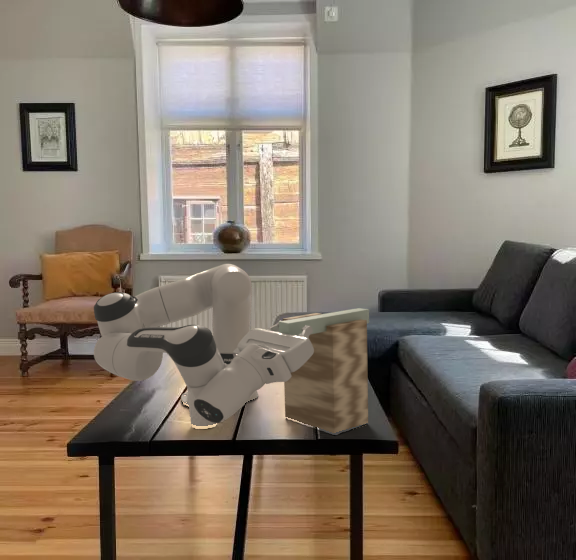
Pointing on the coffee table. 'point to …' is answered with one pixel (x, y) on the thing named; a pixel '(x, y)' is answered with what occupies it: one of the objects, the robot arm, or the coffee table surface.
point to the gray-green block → (322, 321)
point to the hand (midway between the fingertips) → (296, 325)
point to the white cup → (196, 413)
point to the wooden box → (331, 379)
